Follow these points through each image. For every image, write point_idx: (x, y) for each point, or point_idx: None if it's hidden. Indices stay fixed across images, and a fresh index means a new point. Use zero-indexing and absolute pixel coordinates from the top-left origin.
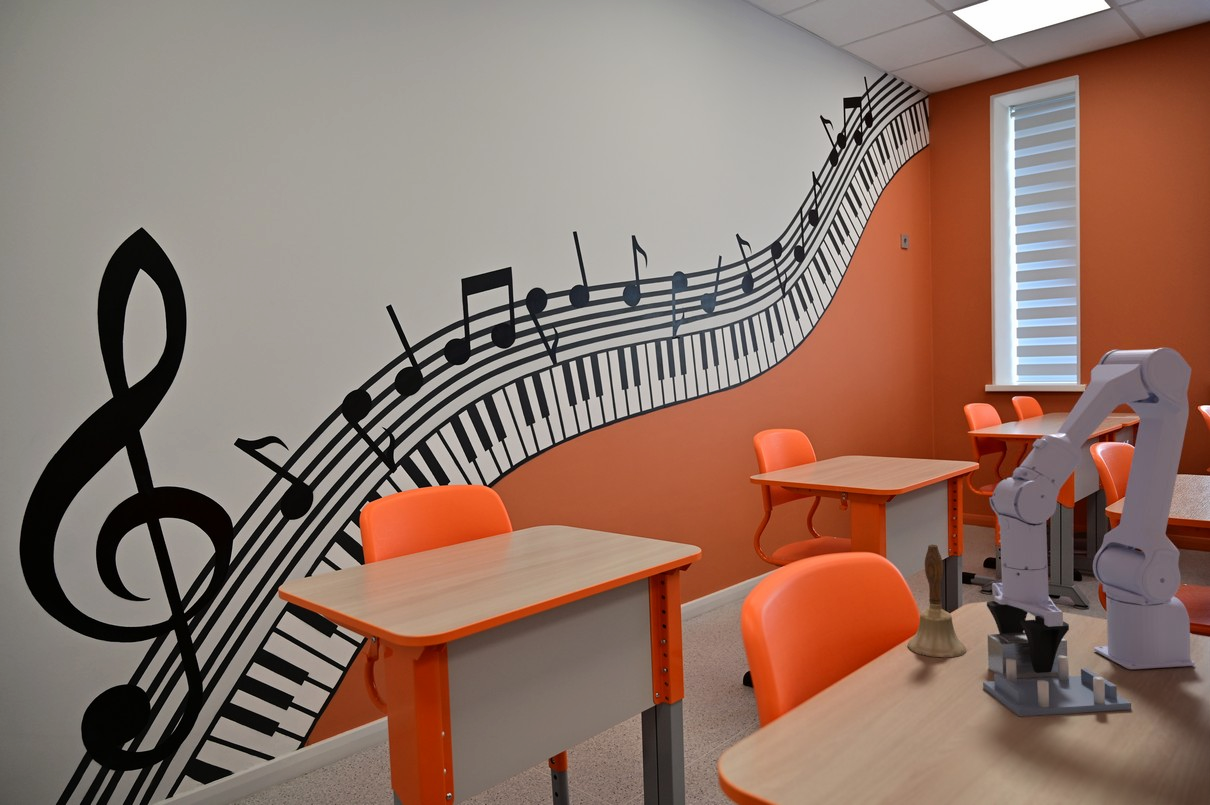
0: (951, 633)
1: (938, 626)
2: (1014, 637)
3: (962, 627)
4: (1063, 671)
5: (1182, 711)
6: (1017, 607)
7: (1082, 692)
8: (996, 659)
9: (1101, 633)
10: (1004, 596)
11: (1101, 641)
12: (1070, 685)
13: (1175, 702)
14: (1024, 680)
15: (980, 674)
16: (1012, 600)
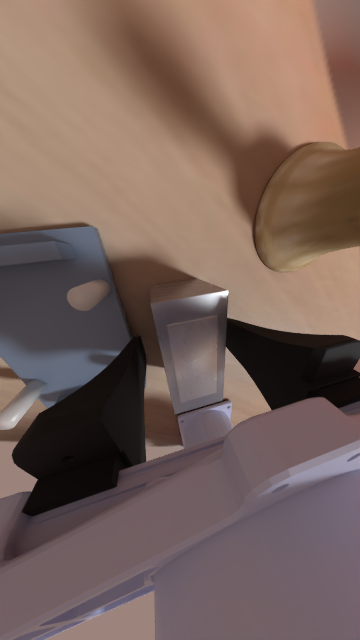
0: (310, 235)
1: (347, 185)
2: (196, 344)
3: (341, 296)
4: None
5: None
6: (159, 484)
7: (76, 373)
8: (174, 287)
9: (265, 408)
10: (318, 499)
11: (249, 406)
12: (105, 366)
13: None
14: (115, 312)
15: (171, 253)
16: (214, 533)
